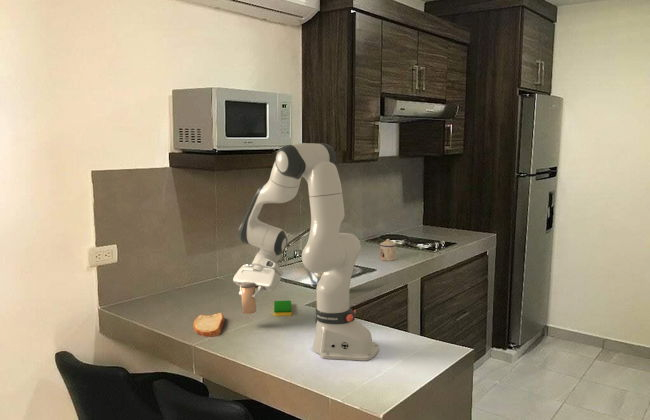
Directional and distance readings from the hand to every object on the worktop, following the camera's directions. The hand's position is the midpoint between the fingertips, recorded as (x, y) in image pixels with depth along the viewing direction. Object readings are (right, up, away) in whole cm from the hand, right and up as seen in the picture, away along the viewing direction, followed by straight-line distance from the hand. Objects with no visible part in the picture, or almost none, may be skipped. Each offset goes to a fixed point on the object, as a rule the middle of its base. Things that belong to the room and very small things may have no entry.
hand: (247, 296), depth 209 cm
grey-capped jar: (+1, -6, +1) cm, 6 cm away
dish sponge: (+12, -9, +21) cm, 26 cm away
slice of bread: (-14, -12, +3) cm, 19 cm away
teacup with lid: (+65, +4, +104) cm, 123 cm away
